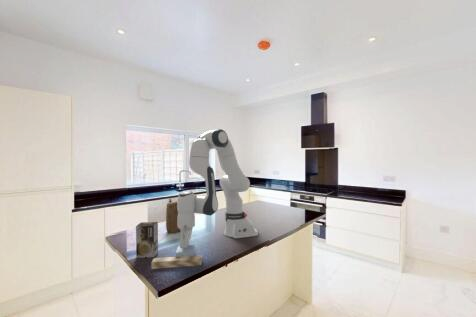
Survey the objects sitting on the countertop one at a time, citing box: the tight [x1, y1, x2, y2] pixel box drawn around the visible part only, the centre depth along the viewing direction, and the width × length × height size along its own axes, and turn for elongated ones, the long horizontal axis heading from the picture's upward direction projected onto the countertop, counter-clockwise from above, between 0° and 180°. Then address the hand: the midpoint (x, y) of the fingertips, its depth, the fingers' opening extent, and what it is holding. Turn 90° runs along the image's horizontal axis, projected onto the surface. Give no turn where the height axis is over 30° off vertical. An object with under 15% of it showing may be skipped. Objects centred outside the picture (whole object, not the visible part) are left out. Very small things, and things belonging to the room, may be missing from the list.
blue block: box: [175, 244, 195, 257], centre depth 103 cm, size 8×8×5 cm
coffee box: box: [135, 221, 159, 259], centre depth 108 cm, size 9×6×16 cm
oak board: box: [151, 254, 203, 270], centre depth 97 cm, size 22×4×3 cm, turn 98°
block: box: [165, 201, 181, 234], centre depth 143 cm, size 11×8×20 cm
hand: (186, 249), depth 109 cm, fingers closed
